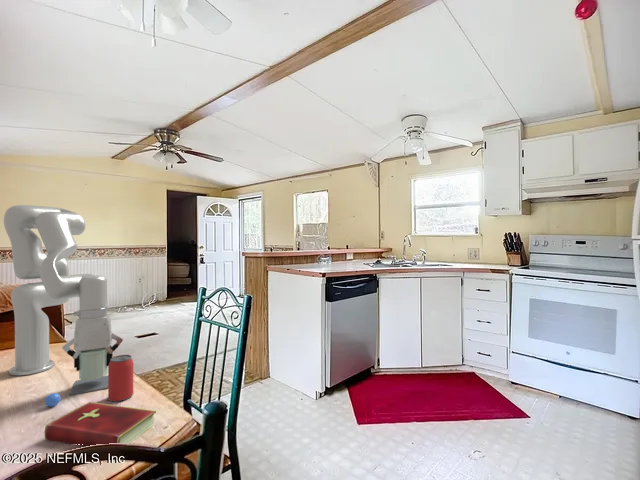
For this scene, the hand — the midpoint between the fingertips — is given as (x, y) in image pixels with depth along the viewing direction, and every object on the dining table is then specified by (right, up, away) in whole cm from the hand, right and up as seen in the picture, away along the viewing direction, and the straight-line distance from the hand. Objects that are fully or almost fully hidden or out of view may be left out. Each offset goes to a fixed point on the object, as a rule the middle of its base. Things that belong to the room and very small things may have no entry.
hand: (93, 366), depth 109 cm
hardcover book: (+20, -7, -26) cm, 34 cm away
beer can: (+14, -6, -8) cm, 17 cm away
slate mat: (0, -6, 0) cm, 6 cm away
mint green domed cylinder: (0, -3, 0) cm, 3 cm away
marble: (-3, -4, -14) cm, 15 cm away
